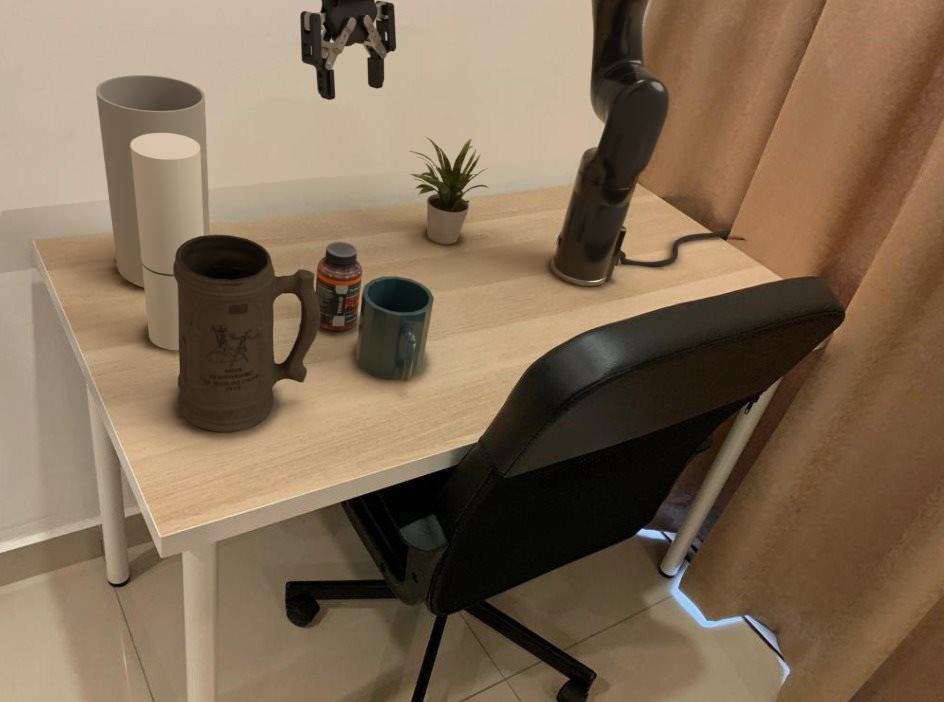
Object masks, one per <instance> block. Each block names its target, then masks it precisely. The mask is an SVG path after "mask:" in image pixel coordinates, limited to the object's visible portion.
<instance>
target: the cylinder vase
mask: <svg viewBox="0 0 944 702" xmlns="http://www.w3.org/2000/svg"><path fill="white" fill-rule="evenodd" d="M95 95H96V101H97V111H98V118H99V127H100V128H99V129H100V133H101V134H100V136H101V143H102V152H103V160H104V168H105V175H106V178H105V179H106V184H107V193H108V201H109V211H110V217H111V227H112V234H113V235H112V236H113V242H114V244H113V245H114V252H115V259H116V266H117V267H116V268H117V270H118V272H119V273H120V275H121V276H122V277H123V278H124V280H126V281H127V282H129V283H132V284H133V285H134V286H138V287H141V288H144V279H143V269H142V259H141V249H140V239H139V229H138V218H137V208H136V198H135V187H134V177H133V167H132V157H131V146H130V143H131V141H132V140H133V139H135V138H137V137H138V136H142V135H145V134H151V133H172V134H178V135H183V136H186V137H189V138H191V139H193V140H195V141H196V142H197V143H199V145H200V152H201V177H202V202H203V227H204V236H206V235H211V234H210V233H211V231H210V205H209V203H210V202H209V201H210V200H209V176H208V175H209V174H208V173H209V172H208V148H207V147H208V145H207V143H208V142H207V116H206V95H205V93H204V91H203V90H202V89H201V88H200V87H197V85H194V84H192V83H189V82H187V81H184V80H181V79H177V78H172V77H167V76H160V75H149V74H147V75H146V74H145V75H144V74H136V75H123V76H116V77H112V78H109V79H107V80H104V81H102V82H101V83H99V84H98V85H97V86H96V88H95Z"/></svg>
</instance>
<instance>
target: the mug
mask: <svg viewBox="0 0 944 702" xmlns="http://www.w3.org/2000/svg"><path fill="white" fill-rule="evenodd" d="M434 301H435V297H434V295H433V293H432V292H431V290H430V288H428V287H427V286H425V285H424V284H423V283H421V282H419V281H417V280H414V279H411V278H407V277H404V276H403V277H402V276H396V275H395V276H394V275H393V276H391V275H389V276H388V275H387V276H381V277H380V276H379V277H376V278H373V279H371V280H369V282H367V283H366V284H364V286H363V289H362V293H361V301H360V312H359V321H358V331H357V340H356V350H355V356H356V357H355V359H356V361H357V364H358V365H359V367H360V368H361V369H362V370H363V371H364V372H366V373H367V374H370V375H372V376H374V377H376V378H380V379H385V380H402V381H403V382H409V381H410V380H411V377H412V376H415V375H416V374H417V373H419V371H421V368H422V367H423V364H424V363H423V362H424V358H425V352H426V345H427V341H428V334H429V330H430V329H429V328H430V322H431V318H432V311H433V306H434Z"/></svg>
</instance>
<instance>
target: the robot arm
mask: <svg viewBox="0 0 944 702" xmlns="http://www.w3.org/2000/svg"><path fill="white" fill-rule="evenodd" d="M320 1H321V7H320V11H319V12H311V11H306V10H303V11H301V13H300V17H299V19H300V20H299V22H300V50H301V52H300V53H301V62H302V63H303V64H306V65H310V66H313V67H314V68H315V72H316V86H317V87H316V88H317V93H318V95H320V97H321V98H322V99H324V100H328V101H331V100H335V99H336V84H335V83H336V82H335V81H336V80H335V69H333V67H334V65H335V63H336V60H337V58H338V56H339V55H340V54H341V55H342V53H343V51H344V49H345V47H351V46H353V45H355V44H359V45H362V46H363V48H364V49H365V51H366V53H367V55H369V56H368V57H367V58H366V62H367V85H368V86H369V87H370V88H373V89H376V90H377V89H382V88H383V87H384V82H385V58H386V57H387V55H388V54H389V53H390V52H391V53H392V52H393V53H394V52H395V51H396V49H397V35H396V34H397V33H396V15H395V4H394V3H392V2H388V1H385V0H320ZM590 2H591V16H592V17H591V18H592V35H593V36H592V54H591V68H590V69H591V71H590V82H589V83H590V84H589V97H590V104H591V107H592V110H593V112H594V115H596V117H597V118H598V119H599V121H601V122H602V123H603V124H604V127H603V131H602V133H601V136H600V139H599V142H598V144H597V146H594V147H590V148H588V149H587V148H586V150H584V152H583V153H582V155H581V158H580V162H579V165H578V169H577V172H576V175H575V179H574V183H573V187H572V191H571V194H570V198H569V202H568V205H567V208H566V212H565V215H564V220H563V223H562V227H561V229H560V232H559V234H558V237H557V238H556V242H555V245H556V249H555V252H554V254H553V257H552V260H551V264H550V268H551V271H552V272H553V273H554V274H555V275H556V276H557V277H558V278H560V279H561V280H563V281H565V282H567V283H569V284H573V285H576V286H581V287H597V286H601V285H602V284H604V282H608V281H611V278H612V276H613V273H614V270H615V267H617V266H618V265H619V262H621V263H622V264H625V265H629V266H638V267H646V268H657V267H664V266H668V265H670V264H673V263H674V262H676V260H678V256H679V246H680V244H683V243H685V242H688V241H691V240H698V239H710V238H718V237H724V236H730V235H729V234H730V232H731V230H732V229H725V230H719V231H714V232H701V233H694V234H687V235H684V236H682V237H680V238H678V239H676V240H675V241H674V243H673V246H672V255H671V257H669V258H666V259H663V260H657V261H637V260H631V259H628V258H627V255H626V252H624V251H623V250H621V249H622V246H623V243H624V240H625V237H626V234H627V228H626V227H625V225H624V224H625V221H626V218H627V215H628V211H629V209H630V206H631V202H632V199H633V197H634V196H633V195H634V193H635V190H636V187H637V184H638V181H639V179H640V176H641V175H642V174H643V172H644V171H645V170H646V169H647V167H648V165H649V164H650V162H651V160H652V158H653V155H654V152H655V150H656V147H657V145H658V142H659V140H660V137H661V134H662V132H663V130H664V127H665V124H666V121H667V117H668V114H669V110H670V102H671V101H670V100H671V99H670V93H669V90H668V87H667V85H666V84H665V83H664V82H663V81H662V80H661V79H660V78H659V77H658V76H656V75H654V74H653V73H652V72H651V71H649V70H647V68H646V65H645V59H644V58H645V57H644V42H643V41H644V40H643V39H644V37H643V27H644V18H645V14H646V9H647V7H648V4H649V2H650V0H591V1H590ZM374 24H375V25H374ZM331 40H332V42H331Z"/></svg>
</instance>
